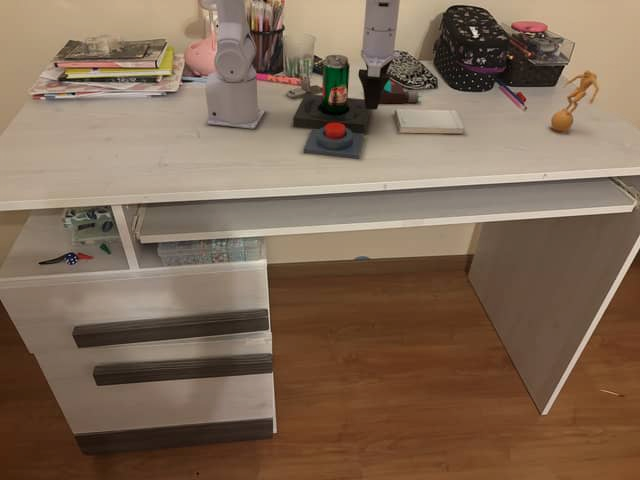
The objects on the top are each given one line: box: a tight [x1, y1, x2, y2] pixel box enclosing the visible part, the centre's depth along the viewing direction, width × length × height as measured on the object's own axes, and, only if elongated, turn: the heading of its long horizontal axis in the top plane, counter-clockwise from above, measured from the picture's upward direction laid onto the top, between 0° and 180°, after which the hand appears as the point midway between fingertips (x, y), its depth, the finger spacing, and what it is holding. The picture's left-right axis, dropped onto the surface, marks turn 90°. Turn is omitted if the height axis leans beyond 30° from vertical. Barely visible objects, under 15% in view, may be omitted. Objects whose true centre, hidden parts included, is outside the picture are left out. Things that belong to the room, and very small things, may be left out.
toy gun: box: [379, 79, 423, 104], centre depth 112 cm, size 10×12×5 cm
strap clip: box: [286, 73, 322, 99], centre depth 112 cm, size 8×3×4 cm, turn 129°
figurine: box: [550, 69, 600, 132], centre depth 99 cm, size 8×6×12 cm
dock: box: [292, 93, 371, 135], centre depth 103 cm, size 14×12×2 cm
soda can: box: [321, 54, 351, 115], centre depth 100 cm, size 5×5×12 cm
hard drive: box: [394, 108, 465, 135], centre depth 102 cm, size 2×8×12 cm
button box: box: [303, 127, 365, 160], centre depth 94 cm, size 10×8×2 cm
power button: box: [325, 123, 345, 139], centre depth 93 cm, size 4×4×2 cm
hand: (373, 100), depth 98 cm, fingers open, 7 cm apart
